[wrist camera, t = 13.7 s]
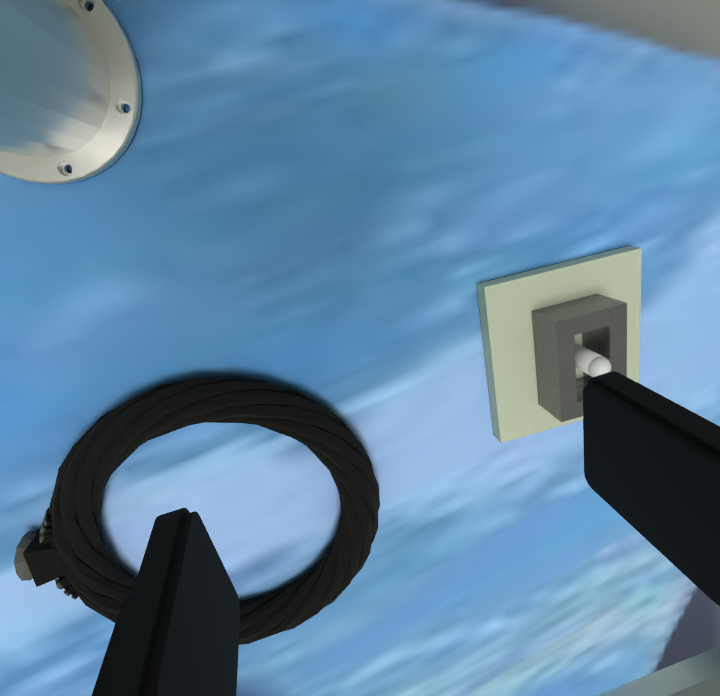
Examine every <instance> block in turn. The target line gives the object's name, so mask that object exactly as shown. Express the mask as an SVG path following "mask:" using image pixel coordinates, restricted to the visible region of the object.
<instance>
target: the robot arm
mask: <svg viewBox="0 0 720 696" xmlns="http://www.w3.org/2000/svg"><path fill="white" fill-rule="evenodd" d="M90 4H94V8H93V10H91V11H90V12H89V11H88V6H89V5H90ZM141 103H142V92H141V78H140V74H139V70H138V66H137V62H136V58H135V55H134V52H133V50H132V48H131V45H130V43H129V40H128V38H127V36H126V34H125V32H124V30H123V29H122V27H121V26H120V24H119V22H118V21H117V19H116V18H115V16H114V14H113V13H112V12H111V11H110V9H109V8H108V7H107V6H106V5H105V3H104V2H103V1H102V0H0V173H2V174H4V175H7V176H10V177H13V178H17V179H20V180H23V181H29V182H37V183H45V184H64V183H71V182H77V181H82V180H84V179H87V178H90V177H92V176H95V175H98V174H99V173H101V172H102V171H104V170H105V169H107V168H108V167H110V166H111V165H113V164H114V163H115V161H116V160H117V159H118V158H119V157H120V156H121V155H122V154H123V153H124V152H125V150H126V149H127V147H128V145H129V144H130V142H131V140H132V139H133V137H134V134H135V131H136V128H137V125H138V122H139V119H140V111H141ZM125 105H129V106H130V111H129V112H128V113H125V111H124V106H125ZM69 165H70V166H71V167H72V173H69V172H68V170H67V167H68V166H69ZM583 430H584V473H585V478H586V480H587V482H588V484H589V485H590V487H591V488H592V489H593V490H594V491H595V492H596V493H597V494H598V495H599V496H600V497H602V498H603V499H604V500H605V501H606V502H607V503H608V504H609V505H610V506H611V507H612V508H613V509H614V510H616V511H617V512H618V513H619V514H620V515H621V516H622V517H623V518H624V519H625V520H626V521H627V522H628V523H630V524H631V525H632V526H633V527H634V528H635V529H636V530H637V531H638V532H639V533H640V534H641V535H642V536H644V537H645V538H646V539H647V540H648V541H649V542H650V543H651V544H652V545H653V546H654V547H655V548H656V549H658V550H659V551H660V552H661V553H662V554H663V555H664V556H665V557H666V558H667V559H668V560H669V561H670V562H672V563H673V564H674V565H675V566H676V567H677V568H678V569H679V570H680V571H681V572H682V573H683V574H684V575H686V576H687V577H688V578H689V579H690V580H691V581H692V582H693V583H694V584H695V585H696V586H697V587H698V588H700V589H701V590H702V591H703V592H704V593H705V594H706V595H707V596H708V597H709V598H711V600H713V601H714V602H715V603H716V604H717V605H719V606H720V427H719V426H717V425H716V424H714V423H712V422H710V421H708V420H706V419H704V418H703V417H701V416H699V415H697V414H695V413H693V412H691V411H689V410H688V409H686V408H684V407H682V406H680V405H678V404H676V403H674V402H673V401H671V400H669V399H667V398H665V397H663V396H661V395H660V394H658V393H656V392H654V391H652V390H650V389H648V388H646V387H645V386H643V385H641V384H639V383H637V382H635V381H633V380H632V379H630V378H628V377H626V376H624V375H622V374H620V373H618V372H615V371H612V372H608V373H605V374H602V375H599V376H596V377H592V378H590V379H589V380H588V382H587V386H585V387H584V389H583ZM239 625H240V604H239V599H238V595H237V593H236V590H235V588H234V586H233V584H232V582H231V580H230V578H229V576H228V574H227V572H226V570H225V568H224V566H223V563H222V561H221V559H220V557H219V555H218V553H217V551H216V549H215V547H214V545H213V543H212V541H211V539H210V537H209V534H208V532H207V530H206V528H205V526H204V524H203V522H202V520H201V518H200V516H199V514H198V513H197V512H191V513H190V512H189V511H188V510H187V509H186V508H182V509H179V510H175V511H172V512H169V513H166V514H163V515H160V516H158V517H157V518H156V520H155V522H154V526H153V529H152V532H151V535H150V538H149V542H148V545H147V548H146V551H145V554H144V558H143V561H142V564H141V567H140V570H139V574H138V577H137V580H136V583H135V586H134V590H133V592H130V593H129V594H128V595H127V596H126V597H125V599H124V601H123V603H122V605H121V608H120V611H119V614H118V617H117V620H116V624H115V627H114V630H113V633H112V636H111V639H110V642H109V645H108V648H107V651H106V654H105V657H104V660H103V663H102V666H101V669H100V672H99V675H98V678H97V681H96V684H95V687H94V690H93V693H92V696H236V687H237V667H238V646H239ZM597 696H720V646H719V647H716V648H714V649H711V650H709V651H706V652H704V653H701V654H699V655H696V656H694V657H692V658H689V659H686V660H684V661H681V662H679V663H677V664H674V665H671V666H669V667H666V668H664V669H662V670H659V671H657V672H654V673H652V674H649V675H647V676H644V677H642V678H639V679H637V680H634V681H632V682H629V683H627V684H624V685H622V686H620V687H617V688H615V689H612V690H610V691H607V692H605V693H602V694H600V695H597Z"/></svg>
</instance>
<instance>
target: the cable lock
mask: <svg viewBox="0 0 720 696" xmlns="http://www.w3.org/2000/svg"><path fill="white" fill-rule="evenodd" d="M203 422H218V423H247V424H256V425H259V426H262V427H265V428H268V429H270V430H273V431H276V432H278V433H281V434H284V435H287V436H289V437H292V438H294V439H296V440H298V441H300V442H301V443H303V444H304V445H306V446H307V447H308V448H309V449H310V450H311V451H312V452H313V453H314V454H315V455H316V456H317V457H318V458H319V460H320V461H321V462H322V463H323V464H324V465H325V466H326V467H327V468H328V469H329V471H330V472H331V475H332V477H333V479H334V481H335V484H336V486H337V488H338V491H339V495H340V501H341V512H342V513H341V517H340V521H339V525H338V529H337V534H336V537H335V539H334V541H333V542H332V544H331V546H330V547H329V549H328V550H327V552H326V554H325V555H324V557H323V559H321V560H320V561H319V562H318V563H317V564H316V565H315V566H314V567H313V568H312V569H311V570H310V571H309V572H308V573H307V574H305V575H304V576H303V577H302V578H301V579H300V580H298V581H296V582H294V583H292V584H290V585H288V586H286V587H284V588H282V589H280V590H278V591H276V592H275V593H273V594H270V595H268V596H264V597H260V598H255V599H251V600H246V601H242V602H239V604H240V625H239V645H240V644H249V643H252V642H255V641H257V640H260V639H263V638H266V637H268V636H271V635H274V634H277V633H279V632H282V631H286V630H290V629H293V628H295V627H296V626H298V625H300V624H301V623H303V622H304V621H306V620H308V619H309V618H311V617H312V616H314V615H316V614H317V613H318V612H319V611H320V610H322V609H323V608H324V607H325V606H327V605H329V604H331V603H332V602H334V600H335V599H336V598H337V597H338V596H339V595H340V594H341V593H342V592H343V591H344V589H345V588H346V587H347V586H348V585H349V584H350V582H351V580H352V579H353V578H354V577H355V575H356V574H357V573H358V572H359V571H360V570H361V569H362V567H363V565H364V563H365V561H366V559H367V557H368V556H369V554H370V549H371V544H372V542H373V540H374V538H375V535H376V532H377V529H378V510H379V506H380V501H379V486H378V483H377V480H376V478H375V476H374V474H373V469H372V464H371V461H370V459H369V457H368V455H367V454H366V452H365V450H364V448H363V446H362V444H361V443H360V442H359V441H358V440H357V439H356V437H355V436H354V435H353V433H352V432H351V431H350V429H349V428H348V427H347V425H346V424H345V423H344V422H343V421H342V420H340V419H339V418H338V417H337V416H336V415H335V414H333V413H332V412H331V411H330V410H329V409H328V408H326V407H324V406H322V405H320V404H319V403H317V402H315V401H313V400H312V399H310V398H308V397H307V396H305V395H303V394H301V393H300V392H297V391H294V390H291V389H287V388H284V387H281V386H277V385H274V384H271V383H269V382H267V381H261V380H255V379H249V378H243V377H237V376H221V377H203V378H194V379H191V380H186V381H181V382H176V383H170V384H165V385H161V386H159V387H157V388H155V389H152V390H150V391H148V392H146V393H143V394H141V395H139V396H137V397H134V398H132V399H130V400H129V401H127V402H126V403H124V404H123V405H121V406H120V407H118V408H116V409H115V410H113V411H111V412H109V413H108V414H106V415H104V416H102V417H101V418H100V419H99V420H98V421H97V422H96V423H95V424H94V425H93V426H92V427H91V428H90V429H89V430H88V431H87V432H86V433H85V434H84V435H83V436H82V437H81V438H80V439H79V440H78V441H77V442H76V443H75V445H74V446H73V447H72V449H71V451H70V452H69V454H68V455H67V457H66V458H65V460H64V461H63V463H62V465H61V466H60V468H59V470H58V475H57V479H56V484H55V488H54V492H53V495H52V499H51V503H50V507H49V508H48V509H47V510H46V513H45V517H44V520H43V523H42V525H41V529H40V530H39V531H38V533H36V532H30V531H29V532H28V533H26V534H25V535H24V536H23V537H22V539H21V541H20V542H19V544H18V546H17V549H16V554H15V560H14V564H15V569H16V574H17V575H18V577H19V578H20V579H21V580H31V579H32V578H33V579H34V582H35V584H36V586H40V585H42V584H45V583H47V582H49V581H52V580H54V579H56V580H55V581H56V585H57V588H59V589H63V588H64V589H65V591H64V593H65V594H66V595H68V596H69V595H70V594H72V598H73V599H77V597H78V596H79V597H80V599H81V600H82V601H83V603H84V604H85V605H86V606H88V607H89V608H91V609H93V610H94V611H96V612H98V613H99V614H101V615H103V616H104V617H106V618H108V619H109V620H111V621H113V622H114V623H116V620H117V617H118V614H119V611H120V608H121V605H122V603H123V601H124V599H125V597H126V596H127V595H128V594H129V593H130V592H133V590H134V586H135V583H136V579H135V578H134V577H132V576H131V575H130V574H129V573H128V572H127V571H126V570H125V569H124V568H123V567H122V566H121V565H120V564H119V563H118V561H117V560H116V559H115V557H114V556H113V555H112V553H111V552H110V551H109V549H108V548H107V547H106V545H105V543H104V540H103V536H102V529H101V522H100V514H101V504H102V494H103V490H104V488H105V485H106V483H107V481H108V479H109V477H110V476H111V474H112V473H113V472H114V471H115V470H116V469H117V468H118V467H119V466H120V465H121V464H122V463H123V462H124V461H125V460H126V459H127V458H128V457H129V456H130V455H131V454H132V453H133V452H134V451H135V450H136V449H137V448H138V447H139V446H140V445H142V444H143V443H145V442H146V441H148V440H151V439H153V438H156V437H159V436H161V435H164V434H167V433H169V432H172V431H175V430H177V429H180V428H183V427H185V426H188V425H193V424H198V423H203ZM57 578H59V579H57Z"/></svg>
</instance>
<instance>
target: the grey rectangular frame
mask: <svg viewBox="0 0 720 696" xmlns="http://www.w3.org/2000/svg"><path fill="white" fill-rule="evenodd" d="M531 314H532V327H533V340H534V353H535V366H536V379H537V392H538V404H539V405H540V406H542V407H543V408H544V409H545V410H546V411H548V412H549V413H550V414H551V415H553V416H554V417H555V418H556V419H558V420H559V421H560V422H564V421H568V420H571V419H575V418H578V417H582V416H583V389H584V387H585V386H587V382H588V380H589V379H590V378H592V376H590V375H588V374H587V373H585V372H583V377H580V378H576V362H575V337H574V335H577V334H581V333H582V346H583V347H585V348H587V349H589V350H591V351H593V352H595V353H597V354H599V355H601V356H603V357H605V358H607V359H608V360H609V361H610V363H611V371H610V372H612V371H615V372H618V373H620V374H622V375H624V376H626V377H627V303H626V302H623V301H619V300H616V299H613V298H610V297H606V296H603V295H600V294H593V295H590V296H586V297H582V298H578V299H575V300H571V301H567V302H563V303H560V304H556V305H552V306H548V307H545V308H541V309H537V310H533V311H531Z"/></svg>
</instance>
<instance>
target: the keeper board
mask: <svg viewBox="0 0 720 696" xmlns="http://www.w3.org/2000/svg"><path fill="white" fill-rule="evenodd" d="M641 258H642V248H639V247H632V246H627V247H623V248H619V249H615V250H611V251H607V252H603V253H599V254H595V255H591V256H587V257H583V258H579V259H575V260H570V261H566V262H562V263H558V264H554V265H550V266H546V267H542V268H538V269H534V270H530V271H526V272H522V273H518V274H514V275H510V276H506V277H502V278H498V279H494V280H490V281H486V282H482V283H478V284H477V293H478V301H479V310H480V319H481V328H482V337H483V345H484V354H485V363H486V372H487V381H488V390H489V398H490V407H491V416H492V425H493V434H494V436H495V437H496V438H497V439H498V440H499V441H500V443H503V442H506V441H510V440H513V439H517V438H520V437H524V436H527V435H531V434H534V433H538V432H541V431H545V430H548V429H552V428H555V427H559V426H562V425H566V424H569V423H573V422H576V421H580V420H583V416H582V417H578V418H575V419H571V420H568V421H564V422H560V421H559V420H558V419H556V418H555V417H554V416H553V415H551V414H550V413H549V412H548V411H546V410H545V409H544V408H543V407H542V406H540V405H539V404H538V392H537V379H536V366H535V353H534V340H533V327H532V314H531V311H533V310H537V309H541V308H545V307H548V306H552V305H556V304H560V303H563V302H567V301H571V300H575V299H578V298H582V297H586V296H590V295H593V294H600V295H603V296H606V297H610V298H613V299H616V300H619V301H623V302H626V303H627V377H628V378H630V379H632V380H633V381H635V382H637V383H639V345H640V301H641ZM574 337H575V362H576V378H580V377H583V372H585V373H587V374H588V375H590V376H592V377H596V376H599V375H602V374H605V373H608V372H610V371H611V363H610V361H609V360H608V359H607V358H605V357H603V356H601V355H599V354H597V353H595V352H593V351H591V350H589V349H587V348H585V347H583V346H582V333H581V334H577V335H574Z"/></svg>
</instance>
